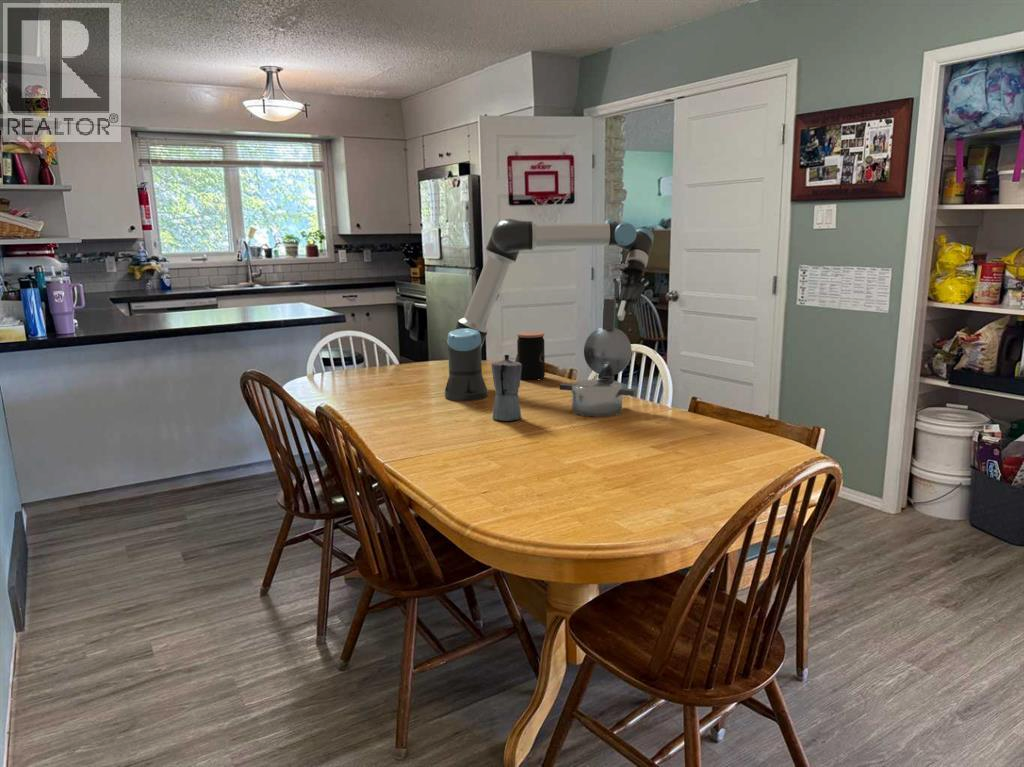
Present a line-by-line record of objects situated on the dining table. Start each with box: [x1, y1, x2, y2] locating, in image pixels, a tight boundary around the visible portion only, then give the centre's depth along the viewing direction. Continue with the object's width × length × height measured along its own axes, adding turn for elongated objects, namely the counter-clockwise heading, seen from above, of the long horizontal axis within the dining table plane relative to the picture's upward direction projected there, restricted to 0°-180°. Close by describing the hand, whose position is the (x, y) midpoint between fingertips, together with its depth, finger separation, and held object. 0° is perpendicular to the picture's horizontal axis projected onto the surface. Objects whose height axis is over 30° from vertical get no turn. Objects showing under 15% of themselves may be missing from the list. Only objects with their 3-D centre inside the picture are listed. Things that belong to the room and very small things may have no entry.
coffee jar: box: [516, 331, 546, 381], centre depth 274 cm, size 11×11×18 cm
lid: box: [583, 298, 632, 381], centre depth 227 cm, size 16×26×2 cm
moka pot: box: [491, 354, 522, 422], centre depth 213 cm, size 10×15×20 cm, turn 174°
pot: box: [558, 378, 637, 418], centre depth 223 cm, size 25×18×9 cm
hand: (620, 317), depth 236 cm, fingers closed
